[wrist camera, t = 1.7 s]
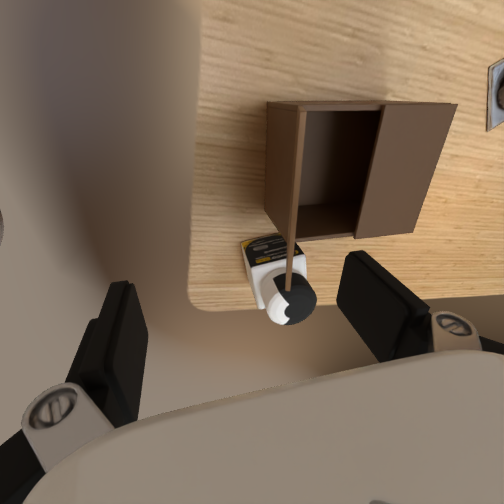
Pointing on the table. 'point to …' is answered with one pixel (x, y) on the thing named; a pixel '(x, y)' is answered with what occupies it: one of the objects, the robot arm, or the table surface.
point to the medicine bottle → (278, 279)
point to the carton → (353, 165)
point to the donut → (496, 95)
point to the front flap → (295, 191)
